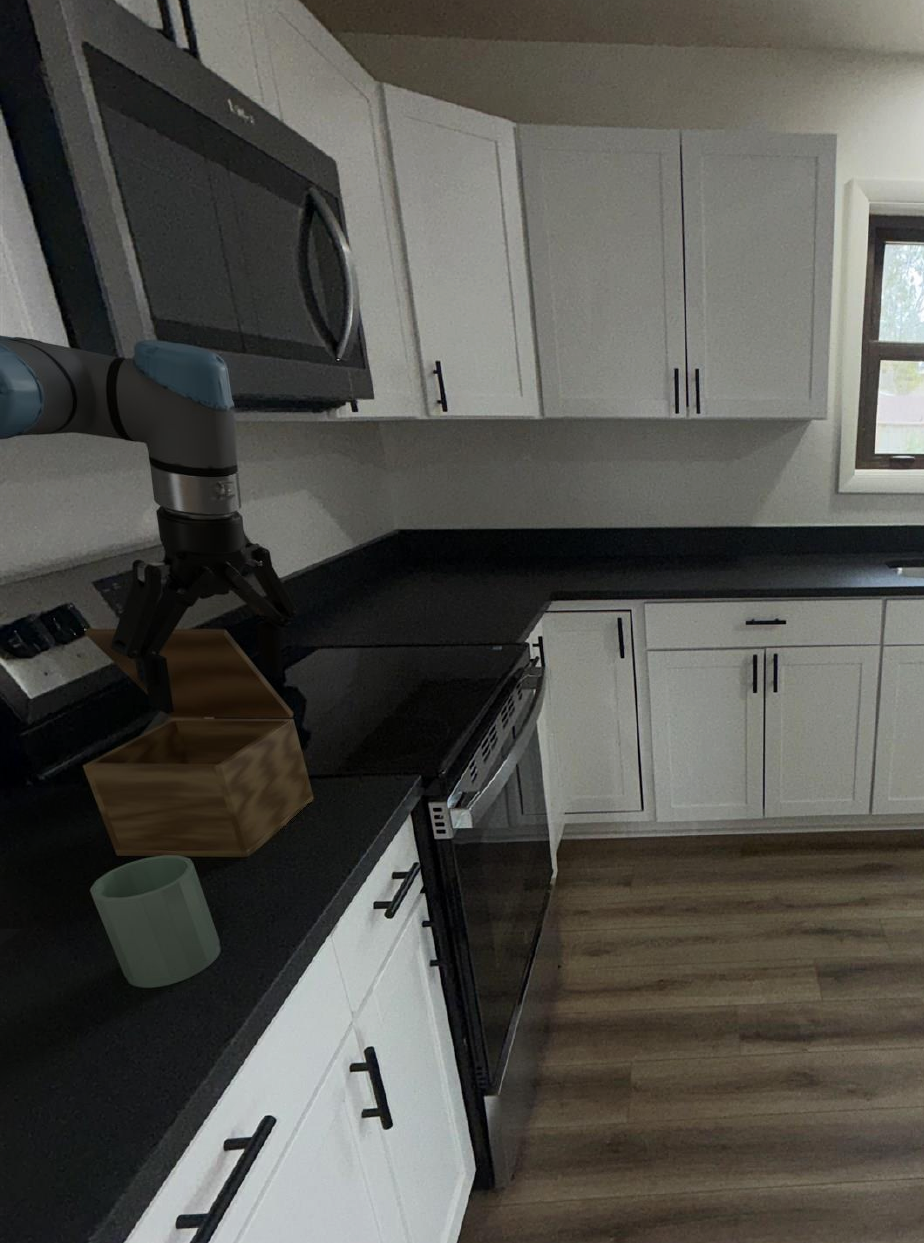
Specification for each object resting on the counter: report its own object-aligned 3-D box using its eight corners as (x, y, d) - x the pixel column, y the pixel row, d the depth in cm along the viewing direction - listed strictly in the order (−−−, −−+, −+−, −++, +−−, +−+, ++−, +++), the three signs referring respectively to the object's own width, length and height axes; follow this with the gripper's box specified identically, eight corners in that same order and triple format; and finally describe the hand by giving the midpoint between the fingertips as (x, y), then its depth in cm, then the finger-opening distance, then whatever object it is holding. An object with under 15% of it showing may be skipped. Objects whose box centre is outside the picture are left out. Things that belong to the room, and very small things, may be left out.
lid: (222, 634, 94) (225, 628, 94) (84, 633, 94) (87, 628, 95) (291, 718, 108) (293, 713, 108) (170, 717, 108) (173, 712, 109)
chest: (248, 857, 99) (221, 766, 94) (116, 856, 99) (82, 765, 94) (314, 800, 113) (293, 718, 108) (199, 799, 114) (172, 718, 109)
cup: (105, 987, 77) (68, 899, 73) (163, 937, 84) (132, 854, 80) (187, 988, 77) (154, 900, 73) (238, 938, 84) (211, 855, 80)
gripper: (96, 535, 73) (132, 738, 83) (326, 507, 94) (332, 672, 104) (40, 511, 75) (82, 712, 85) (278, 489, 96) (288, 652, 106)
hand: (220, 690), depth 94 cm, fingers open, 13 cm apart
